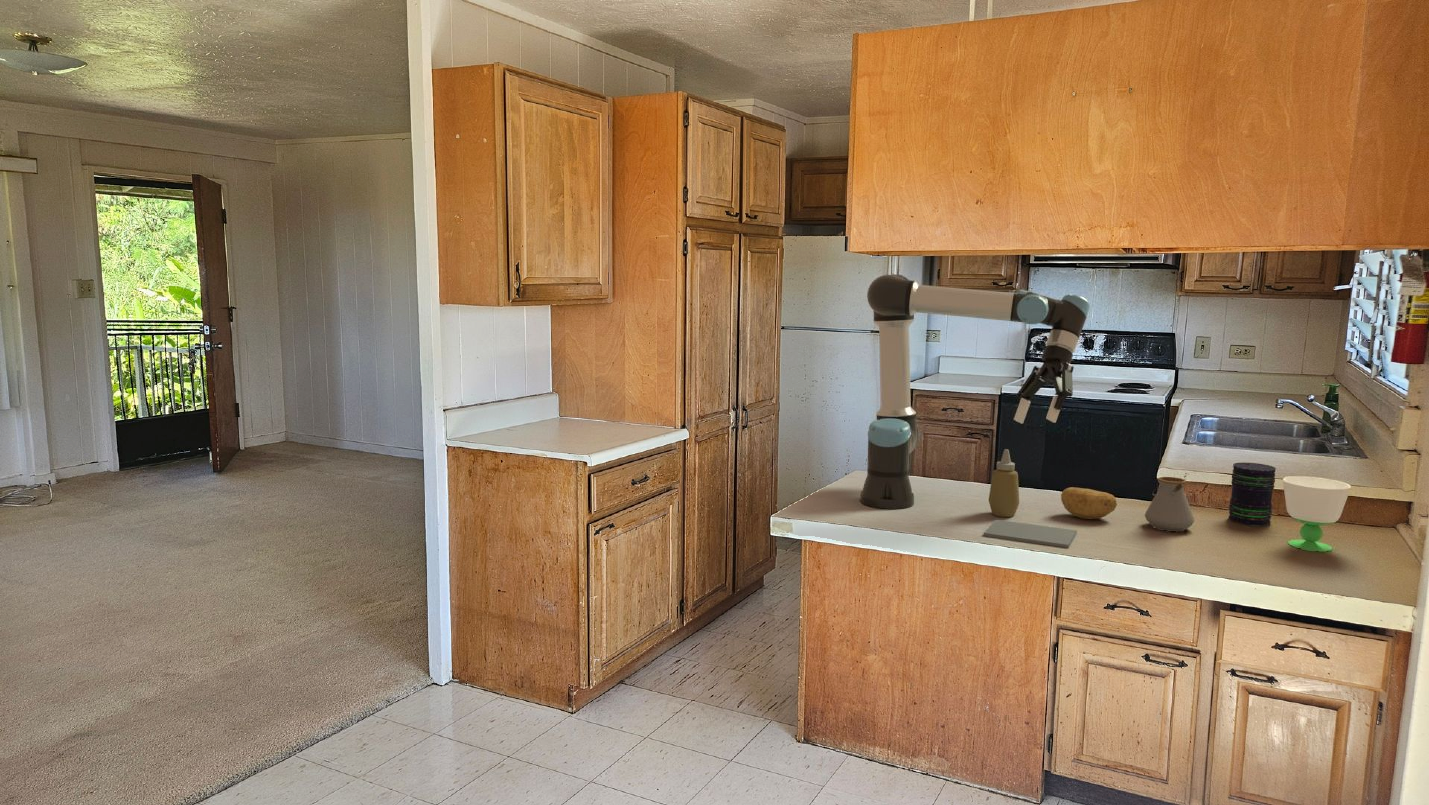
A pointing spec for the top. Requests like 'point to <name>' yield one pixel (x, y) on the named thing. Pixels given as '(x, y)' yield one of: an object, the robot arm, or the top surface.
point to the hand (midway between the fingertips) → (1033, 421)
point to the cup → (1314, 507)
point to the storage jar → (1252, 494)
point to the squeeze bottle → (1004, 488)
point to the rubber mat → (1031, 533)
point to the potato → (1088, 502)
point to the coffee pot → (1170, 506)
